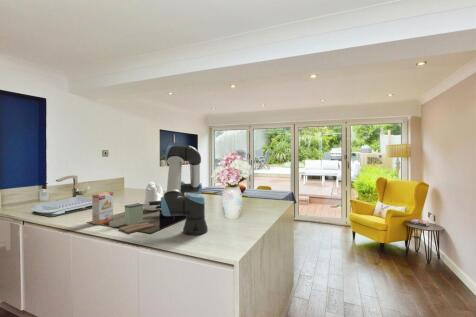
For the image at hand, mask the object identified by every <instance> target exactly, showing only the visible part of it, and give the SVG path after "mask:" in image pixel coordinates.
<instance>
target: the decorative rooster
mask: <svg viewBox="0 0 476 317" xmlns="http://www.w3.org/2000/svg"><path fill="white" fill-rule="evenodd" d="M161 197H164V191H163V187H162V186H161V184H156V183H155V182H154V181H149V182H148V183H147V186H146V187H145V198H144V203H148V202H152V201H161ZM152 206H156V205H152ZM143 208H144V209H145V210H146V211H153V210H151V206H149V207H148V206H147V207H143ZM157 210H159V209H156V210H155V211H157Z"/></svg>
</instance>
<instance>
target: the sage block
mask: <svg viewBox="0 0 476 317" xmlns="http://www.w3.org/2000/svg"><path fill="white" fill-rule="evenodd" d="M143 208H144V207H143V203H139V202H136V203H130V204H126V205H124V224H125V226H129V225H133V224H137V223H141V222H144V209H143Z"/></svg>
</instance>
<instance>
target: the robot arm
mask: <svg viewBox="0 0 476 317" xmlns="http://www.w3.org/2000/svg"><path fill="white" fill-rule="evenodd" d="M164 158H165V162H167V164H168V173H167V184H166V185H167V186H166V191H165V192H164V193H163V197H161V201H152V202H148V203H142V204H143V208H144V207H147V206H148V207H149V206H151V210H152V211H157V210H156V209H158V210H161V214H162V216H164V217H176V216H177V217H179V216H180V217H181V216H185V220H184V221H185V222H184V226H183V228H182V229H183V230H182V233H183V234H185V235H187V236H199V235H203V234H204V235H205V234H206V233H207V232H208V231H209V230H208V225H207V222H206V218H205V217H206V216H205V212H206V210H205V208H206V207H205V205H206V201H205V196H204V195H203V194H200V193H202V192H203V183H202V182H200V181H201V178H200V177H201V175H200V174H201V171H200V170H201V163H202V157H201V154H200V151H198V149H197V148H196V147H194V146H192V145H188V144H187V145H168V146H167V147H166V148H165V156H164ZM185 162H188V164H189V177H190V183H185V181H182V168H183V167H182V166H183V165H184V164H185ZM185 193H186V194H185ZM198 193H199V194H198ZM152 205H156V206H152Z"/></svg>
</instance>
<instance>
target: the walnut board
mask: <svg viewBox="0 0 476 317" xmlns="http://www.w3.org/2000/svg"><path fill="white" fill-rule="evenodd" d="M152 228H156V225H155V224H154V223H150V222H146V221H143V222H141V223H137V224H133V225H125V226H121V227H119V228H118V231H120V232H123V233H126V234H128V235H130V234H134V233H137V232H142V231H145V230H148V229H152Z"/></svg>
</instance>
